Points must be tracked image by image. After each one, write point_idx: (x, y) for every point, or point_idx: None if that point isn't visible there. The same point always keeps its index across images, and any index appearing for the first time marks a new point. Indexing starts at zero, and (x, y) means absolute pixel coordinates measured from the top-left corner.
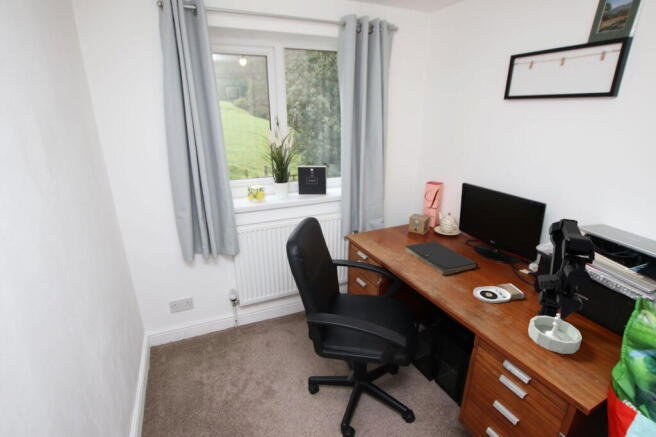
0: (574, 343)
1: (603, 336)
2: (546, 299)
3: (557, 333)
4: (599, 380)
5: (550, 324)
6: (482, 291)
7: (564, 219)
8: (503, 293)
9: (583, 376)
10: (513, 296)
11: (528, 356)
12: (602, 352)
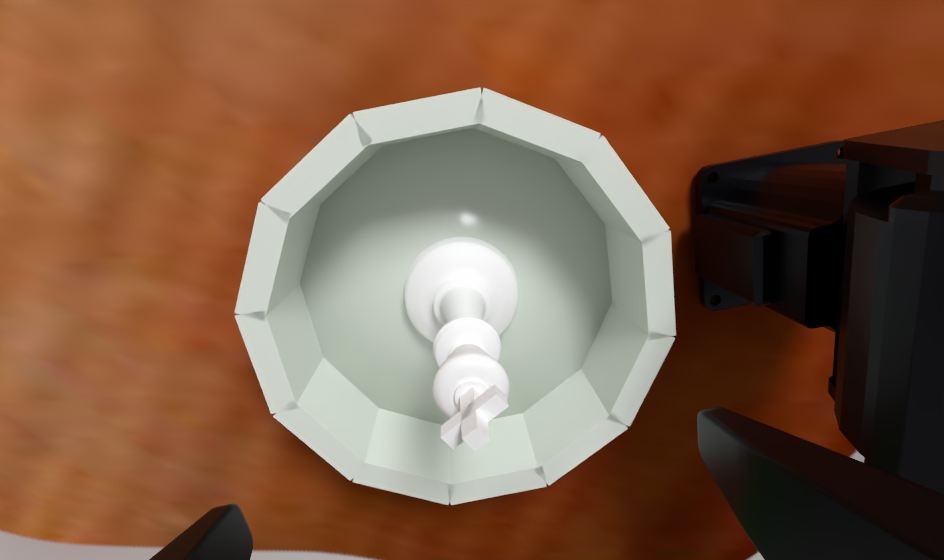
0: (337, 463)
1: (693, 534)
2: (895, 231)
3: (505, 323)
4: None
5: (617, 265)
6: None
7: None
8: None
9: (157, 468)
10: None
11: (62, 153)
12: (502, 534)
